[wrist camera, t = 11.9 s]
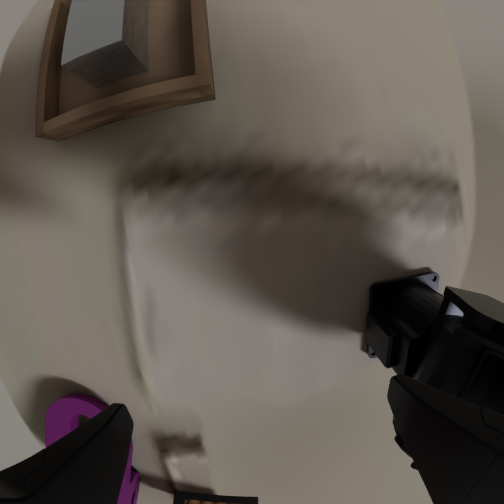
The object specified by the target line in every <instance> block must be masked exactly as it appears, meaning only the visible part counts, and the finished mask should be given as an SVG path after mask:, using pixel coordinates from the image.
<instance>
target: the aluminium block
mask: <svg viewBox="0 0 504 504" xmlns="http://www.w3.org/2000/svg"><path fill="white" fill-rule="evenodd" d="M148 1H149V0H72V2H71V6H70V11H69V15H68V20H67V26H66V32H65V38H64V44H63V52H62V61H61V66H63V67H64V68H66V69H68V70H69V71H71V72H73V73H74V74H76V75H77V76H79V77H81V78H82V79H84V80H85V81H87V82H89V83H90V84H92V85H93V86H95V87H96V88H100V87H102V86H105V85H108V84H111V83H114V82H117V81H120V80H123V79H126V78H129V77H132V76H136V75H139V74H143V73H146V72H149V64H148Z"/></svg>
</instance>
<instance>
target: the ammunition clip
mask: <svg viewBox="0 0 504 504" xmlns="http://www.w3.org/2000/svg"><path fill="white" fill-rule="evenodd" d="M173 504H258V497H241V496H222V495H209V494H199V493H191V492H184V491H178V490H176V491H175V493H174V502H173Z"/></svg>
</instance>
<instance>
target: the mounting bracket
mask: <svg viewBox="0 0 504 504" xmlns="http://www.w3.org/2000/svg"><path fill="white" fill-rule="evenodd" d="M107 407H108V405H107V404H105V403H104V402H102V401H100V400H98V399H96V398H94V397H91V396H88V395H84V394H70V395H68V396H65V397H63V398H61V399H59V400H57V401H55V402H54V403H53V404H52V405H51V406H50V407H49V409H48V411H47V414H46V418H45V438H46V447H48V446H49V445H51V444H52V443H54V442H55V441H57V440H59V439H60V438H62V437H63V436H65V435H66V434H68V433H70V432H71V431H73V430H74V429H76V428H77V427H78V417H79V414H81V415H84V416H86V417H88V418H89V419H91V418H92V417H94V416H95V415H97V414H98V413H100V412H101V411H103V410H104V409H105V408H107ZM132 451H133V443H132V438H131V444H130V451H129V457H128V462H127V466H126V470H125V474H124V478H123V482H122V485H121V489H120V494H119V498H118V502H117V504H136V502H137V498H138V492H139V484H140V480H139V473H138V472H135V471H132V470H131V462H132Z"/></svg>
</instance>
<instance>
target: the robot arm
mask: <svg viewBox="0 0 504 504" xmlns="http://www.w3.org/2000/svg"><path fill="white" fill-rule="evenodd" d="M433 277H434V279H433V280H432V278H433ZM438 284H439V275H438V274H437V273H436V272H428V273H423V274H418V275H413V276H408V277H403V278H398V279H393V280H388V281H382V282H377V283H374V284H372V285H371V287H370V301H369V311H368V313H367V318H366V338H365V341H366V342H367V354H368V356H369V357H370V358H375V357H378V358H379V359H380V361H381V362H382V363H383V365H384V366H385V367H386V368H393V370H394V371H395V372H396V374H397V375H396V376H393V377H391V379H390V384H389V389H388V394H387V398H388V402H389V404H390V407H391V410H392V413H393V425H394V428H395V432H396V436H395V438H394V439H395V441H396V443H397V444H398V445H399V447H400V448H401V449H402V450H403V451H404V452H405V453H406V454H407V455H408V456H409V457H411V458H412V459H413V463H412V464H411V467H412V468H413V469H416V470H418V471H419V473H420V475H421V478H422V480H423V482H424V484H425V486H426V488H427V491H428V493H429V495H430V497H431V499H432V502H433V504H504V303H502V302H500V301H498V300H496V299H494V298H492V297H489V296H487V295H484V294H480V293H475V292H471V291H466V290H462V289H458V288H453V287H449V286H446V288H445V291H444V294H443V295H444V296H443V295H441V294H440V293H438ZM376 288H379V289H378V291H377V292H375V289H376ZM372 351H374V352H373V353H372ZM132 431H133V420H132V418H131V416H130V414H129V412H128V409H127V407H126V406H125V405H124V404H120V403H113V404H111V405H110V406H108V407H107V408H105V409H104V410H103V411H101V412H100V413H98V414H97V415H95V416H94V417H92V418H91V419H89V420H88V421H86V422H85V423H83V424H82V425H80V426H79V427H77V428H76V429H74V430H73V431H71V432H70V433H68V434H66V435H65V436H63V437H62V438H60V439H59V440H57V441H55V442H54V443H52V444H51V445H49V446H48V447H46V449H43V450H41V451H40V452H38V453H36V454H35V455H33V456H31V457H29V458H27V459H25V460H24V461H22V462H20V463H18V464H16V465H13V466H11V467H9V468H7V469H4V470H2V471H0V504H117V502H118V498H119V494H120V489H121V485H122V482H123V478H124V474H125V470H126V466H127V462H128V457H129V451H130V444H131V438H132Z"/></svg>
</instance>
